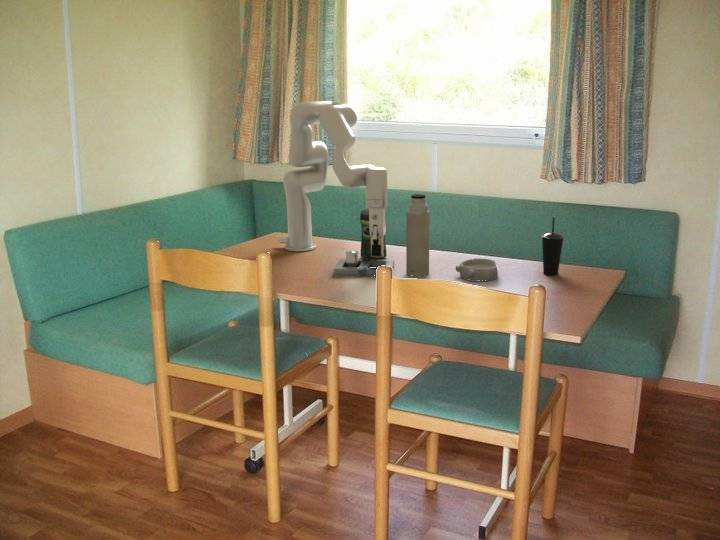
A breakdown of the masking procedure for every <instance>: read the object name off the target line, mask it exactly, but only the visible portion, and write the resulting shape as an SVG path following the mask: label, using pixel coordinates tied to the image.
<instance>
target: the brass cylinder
mask: <svg viewBox="0 0 720 540" xmlns="http://www.w3.org/2000/svg"><path fill="white" fill-rule="evenodd" d="M377 236H379V235H377ZM377 239H378V238H377ZM380 245H381V256H372V237H371V256H372V257H383V237H382V236H380Z"/></svg>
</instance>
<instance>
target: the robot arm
mask: <svg viewBox="0 0 720 540" xmlns="http://www.w3.org/2000/svg"><path fill="white" fill-rule="evenodd" d="M354 108H355V107H353V106H352V105H350V104H348V103H343V102H338V101H334V100H317V101H316V100H314V101H313V100H311V101H303V102H297V103H296V104H294V105H293V106H292V107H291V109H290V112H289V123H290V141H289V155H288V159H289V163H290V164H291V165H292V166H293V167H296V168H297V169H292V170H289V171H287V172H286V173H285V174H284V176H283V179H282V180H283V181H282V183H283V188H284V192H285V199H286V214H287V236H286V237H278V238H277V242H278V243H279V244H285V245H284V250H286V251H289V252H309V251H313V250H315V249H316V248H317V244H316V243H315V242H313V229H312V228H313V227H312V204H311V202H310V201H311V200H310V199H309V197H308V196H307V195H306V194H308V193H314V192H319V191H322V190H323V189H324V188H325V187H326V183H327V177H328V176H327V175H328V168H329V167H328V166H329V150H328V146H327V145H326V144H325V143H324V142H322V141H321V140H313V139H314V131H313V128H312V126H313V125H321V126H322V128H323V131H324V132H325V134H326V136H327V138H328V140H329V142H330V144H331V145H332V147H333V151H332V156H331V165H332V169H333V172H334V174H335V175H336V176H335V177H337V179H338V181H339V182H340V184H341V185H342V186H343V187H344V188H348V189H355V188H360V187H365V208H366V209H369V229H370V236H371V237H372V256H381V245H380V236H382V237H383V236H384V235H385V236H386V232H387V231H386V230H387V223H386V222H387V220H386V221H385V214H386V209H387V208H388V170H387V168H385V167H382V166H375V165H372V164H370V163H369V164H358V165H350V166H349V163H348V162H347V160H346V158H345V156H344V153H345V152H346V151H348V150H349V149H351V148H352V147H353V146H354V144H355V142H356V136H355V134H353V131H352V129H351V128H353V127H354V126H355V125H356V124H357V121H358V114H357V111H356V109H354ZM304 167H305V168H304ZM377 235H379V236H377ZM377 238H378V239H377Z"/></svg>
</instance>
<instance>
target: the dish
mask: <svg viewBox="0 0 720 540" xmlns="http://www.w3.org/2000/svg"><path fill="white" fill-rule="evenodd" d="M455 271H456V272H457V273H459V276H460V278H462V279H464V278H465V279H464V280H467V279H470V280H469V281H471V280H480V281H479V282H486V281H485V280H490V281H492V280H495V279H496V278H497V277H498V274H499V272H498V268H497V262H496V261H495V260H493V259H490V258H470V259H466V260H463V261H461V262H460V263H459V265H456V266H455ZM482 280H483V281H482Z"/></svg>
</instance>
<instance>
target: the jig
mask: <svg viewBox="0 0 720 540" xmlns="http://www.w3.org/2000/svg"><path fill="white" fill-rule="evenodd" d="M381 265H385V266H390V267H392V268H393V270H394V269H395V259H378V260H376V259H365V258H358V267H359V268H356V267H346V258H339V259H338V262H337V263H336V264H335V267H333V277H365V276H374V275H375V276H376V269H377V267H378V266H381ZM370 267H376V268H370Z"/></svg>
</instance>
